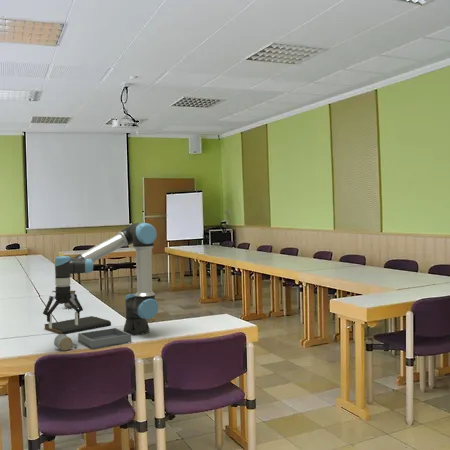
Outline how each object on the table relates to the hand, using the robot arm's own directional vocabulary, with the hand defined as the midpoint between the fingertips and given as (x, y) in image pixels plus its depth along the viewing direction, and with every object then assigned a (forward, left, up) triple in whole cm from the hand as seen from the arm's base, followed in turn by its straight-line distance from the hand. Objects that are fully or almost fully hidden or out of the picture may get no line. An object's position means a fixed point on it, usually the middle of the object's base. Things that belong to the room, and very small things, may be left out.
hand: (63, 326), depth 272 cm
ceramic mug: (-1, 0, -12) cm, 12 cm away
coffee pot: (-38, -123, -12) cm, 129 cm away
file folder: (-23, -49, -13) cm, 56 cm away
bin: (-22, -1, -12) cm, 25 cm away
